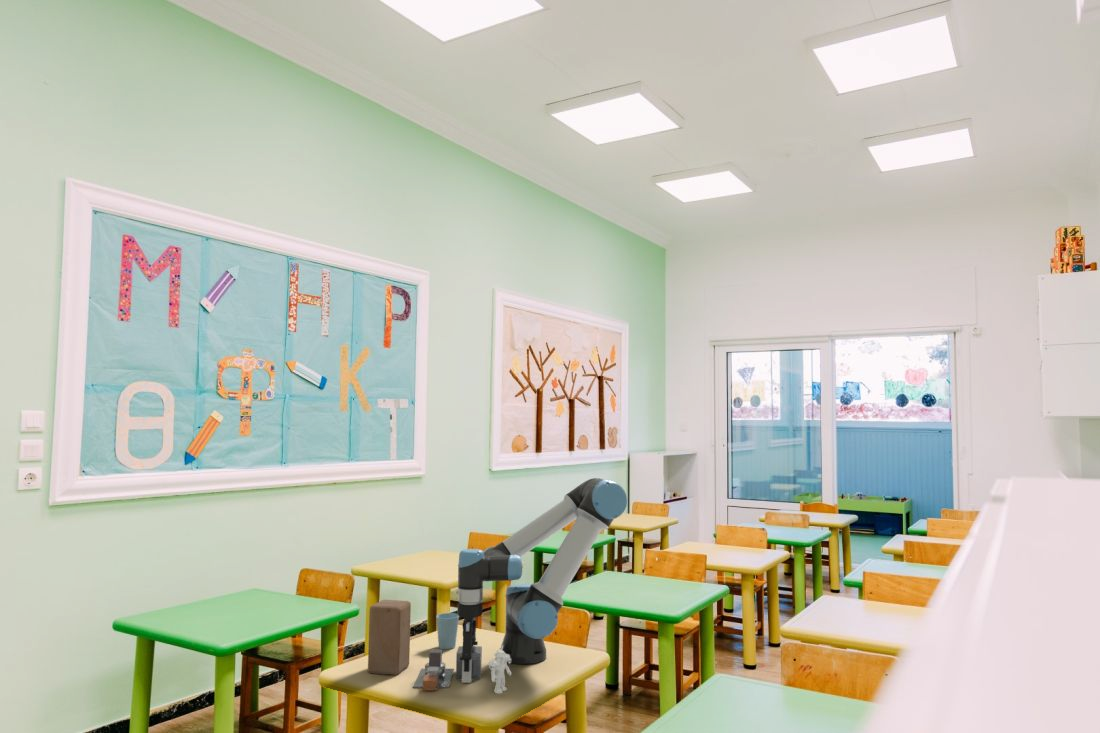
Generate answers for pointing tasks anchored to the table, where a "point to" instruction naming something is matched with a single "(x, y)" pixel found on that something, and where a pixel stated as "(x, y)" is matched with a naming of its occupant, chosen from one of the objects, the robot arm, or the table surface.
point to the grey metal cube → (476, 662)
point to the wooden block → (389, 637)
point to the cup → (447, 630)
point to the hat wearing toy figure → (499, 669)
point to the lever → (434, 673)
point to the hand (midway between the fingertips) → (468, 674)
